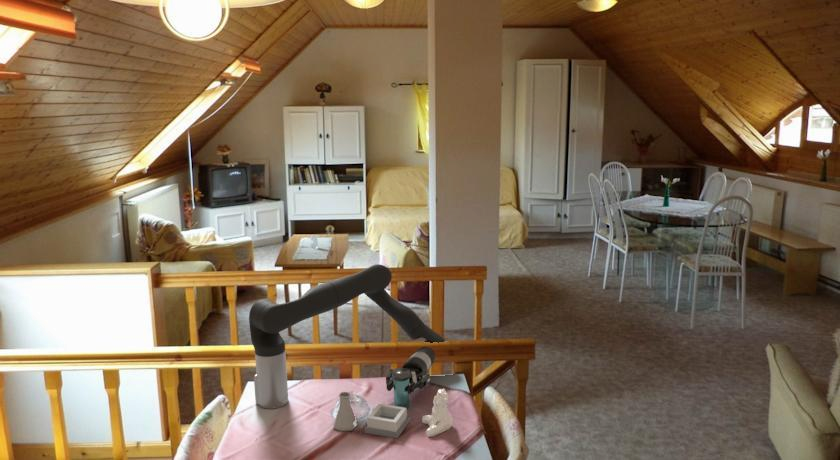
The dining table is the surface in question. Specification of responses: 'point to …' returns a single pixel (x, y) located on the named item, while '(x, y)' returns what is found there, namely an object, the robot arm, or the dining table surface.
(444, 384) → the dining table surface
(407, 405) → the teal capped jar
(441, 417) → the seated beast figurine
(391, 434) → the dock
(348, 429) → the flask
